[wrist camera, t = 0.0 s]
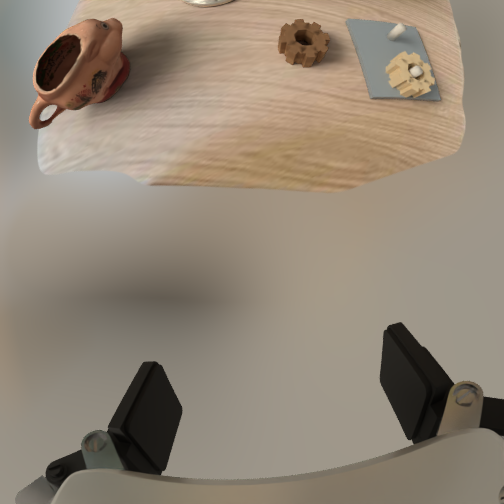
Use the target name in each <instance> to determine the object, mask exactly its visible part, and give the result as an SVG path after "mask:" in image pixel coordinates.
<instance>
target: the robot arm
mask: <svg viewBox="0 0 504 504" xmlns="http://www.w3.org/2000/svg"><path fill="white" fill-rule="evenodd" d="M182 1H183V2H185V3H187V4H189V5H192V6H198V7H210V6H217V5H222V4H225V3H228V2H230V1H233V0H182ZM382 350H383V351H382V361H381V371H380V383H381V385H382V387H383V389H384V391H385V393H386V395H387V397H388V399H389V402H390V403H391V405H392V408H393V410H394V412H395V414H396V416H397V418H398V420H399V422H400V424H401V426H402V429H403V431H404V433H405V435H406V437H407V439H408V440H411V439H412V441H413V444H414V445H411V446H409V447H406V448H403V449H400V450H398V451H395V452H392V453H388V454H385V455H382V456H379V457H376V458H372V459H369V460H365V461H362V462H358V463H354V464H350V465H346V466H342V467H337V468H333V469H328V470H323V471H317V472H311V473H305V474H298V475H291V476H282V477H272V478H259V479H237V480H236V479H234V480H218V479H217V480H216V479H215V480H213V479H192V478H180V477H170V476H161V473H162V471H164V470H165V469H166V467H167V463H168V460H169V456H170V452H171V449H172V446H173V442H174V439H175V436H176V432H177V429H178V426H179V422H180V419H181V415H182V406H181V404H180V402H179V400H178V398H177V396H176V394H175V393H174V390H173V388H172V386H171V384H170V382H169V380H168V378H167V376H166V374H165V371H164V369H163V367H162V365H159V364H158V363H157V362H155V361H153V362H143V363H142V365H141V367H140V368H139V370H138V372H137V374H136V376H135V377H134V379H133V381H132V383H131V385H130V386H129V388H128V390H127V392H126V394H125V395H124V397H123V399H122V401H121V403H120V404H119V406H118V408H117V410H116V412H115V414H114V416H113V417H112V419H111V422H110V423H109V425H108V428H109V429H108V431H107V432H106V431H103V430H95V431H92V432H90V433H88V434H87V435H86V436H85V437H84V438H83V440H82V442H81V450H79V451H77V452H75V453H72V454H70V455H68V456H65V457H63V458H61V459H58V460H56V461H53V462H52V463H50V465H49V466H48V467H47V469H46V477H44V476H41V477H39V478H38V479H36V480H35V481H34V482H32V483H31V484H30V485H28V486H27V487H25V488H24V489H22V490H21V491H19V492H18V494H17V495H16V504H504V399H497V398H490V397H484V396H483V391H482V389H481V387H480V386H479V385H478V384H476V383H474V382H471V381H462V382H459V383H457V384H454V383H453V382H452V380H451V379H450V378H449V376H448V375H447V374H446V373H445V371H444V370H443V369H442V367H441V366H440V365H439V364H438V362H437V361H436V360H435V359H434V357H433V356H432V355H431V354H430V352H429V351H428V350H427V349H426V348H425V347H422V346H421V345H420V344H419V343H418V341H417V340H416V339H415V338H414V337H413V335H412V334H411V333H410V332H409V331H408V330H407V328H406V327H405V326H404V325H403V324H402V323H401V322H399V323H396V324H392V325H389V326H388V327H387V330H385V331H384V335H383V349H382Z"/></svg>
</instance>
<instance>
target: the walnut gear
mask: <svg viewBox="0 0 504 504" xmlns="http://www.w3.org/2000/svg"><path fill="white" fill-rule="evenodd" d="M320 27H321V26H320V25H319V24H317V23H315V22H313V24H312V25H311V24H310V23H304V20H303V19H297V20H295V22H294V23H292V25H291V26H290V25H288V24H285V25H284V26H283V27H282V28H281V34H280V36H279V43H278V50H279V53H280V54H281V53H285V56H286V57H287V58H286V62H288V63H290V64H292V65H293V64H294V63H295V62H296V63H298V64H301V63H302V66H303V67H311V65H312V63H313V62H314V61H317V62H318V63H319V62H320V61H321V60H322V59H323V57H324V56H325V54H326V52H327V50H328V47H326V46H327V45H328V43H329V41H330V38H329V35H328V33H324V34H323V32H322V30H320ZM296 41H304V42H306V43H308V44H309V45H308V46H303V45H301V44H300V43H298V42H296Z"/></svg>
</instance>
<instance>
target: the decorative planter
mask: <svg viewBox="0 0 504 504" xmlns="http://www.w3.org/2000/svg"><path fill="white" fill-rule="evenodd" d="M122 29H123V28H122V24H121V22H120V21H118V20H117V19H115V18H111V19H108V20H106V21H99V20H96V19H88V20H85V21H83V22H81V23H79V24H77V25H74V26H72V27H70V28H68V29H66V30H64V31H63V32H62V33H61V34H60V35H59V36H58V37H57V38H56V39H55V40H54V41H53V42H52V43H51V44H50V45H49V46H48V47H47V48H46V50H45V51H44V52H43V53H42V55H41V57H40V58H39V60H38V62H37V64H36V66H35V69H34V73H33V84H34V87H35V89H36V91H37V92H38V97H37V100H36V102H35V103H34V105H33V107H32V110H31V113H30V117H29V123H30V125H31V126H32V127H33V128H34V129H40V128H43V127H46V126H48V125H49V124H51V123H52V120H53V119H54V118H55V117H56V116H58V115H59V114H60V113H62V112H63V111H64V110H66V109H69V110H79V109H81V108H83V107H85V106H87V105H90V104H93V103H102V102H105V101H106V100H108V99H109V98H111V97H112V96H113V95H114V94H115V93H116V92H117V91H118V90H119V88H120V87H121V85H122V84H123V82H124V81H125V80H126V79H127V77H128V75H129V70H130V63H129V60H128V59H127V57H126V56H125V55H124V54H123V53H122V52H121V48H122ZM49 105H57V109H56V111H55V112H54V114H53V115H52V116H51V117H50V118H49V119H48V120H45V121H41V120H40V119H39V117H40V114H41V112H42V111H43V110H44V109H45V108H46V107H47V106H49Z"/></svg>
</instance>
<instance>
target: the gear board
mask: <svg viewBox="0 0 504 504" xmlns="http://www.w3.org/2000/svg"><path fill="white" fill-rule="evenodd" d="M346 25H347V27H348V30H349V32H350V35H351V38H352V40H353V43H354V46H355V49H356V52H357V55H358V58H359V61H360V64H361V67H362V71H363V74H364V77H365V81H366V84H367V88H368V92H369V96H370V99H411V100H427V101H440V100H441V98H440V95H439V91H438V87H437V84H436V81H435V77H434V74H433V71H432V68H431V65H430V62H429V59H428V56H427V54H426V51H425V48H424V46H423V43H422V41H421V38H420V36H419V34H418V31H417V29H416V27H411V26H406V25H404V24H403V23H399V24H394V23H387V22H380V21H371V20H359V19H347V20H346Z"/></svg>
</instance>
